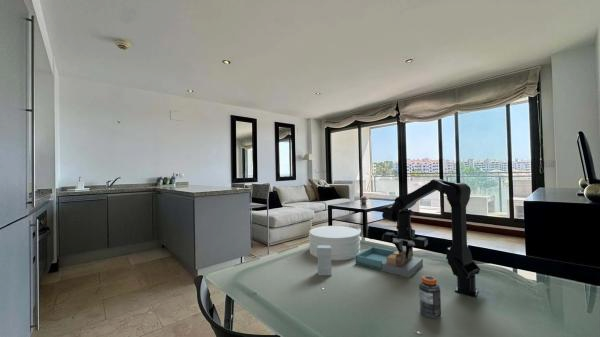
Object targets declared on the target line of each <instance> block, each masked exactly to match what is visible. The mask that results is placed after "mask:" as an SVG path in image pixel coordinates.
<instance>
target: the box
mask: <svg viewBox="0 0 600 337" xmlns="http://www.w3.org/2000/svg"><path fill="white" fill-rule="evenodd" d="M395 251H396V250H391V249H387V248H380V247H376V246H370V247H369V248H367V249H364V250H363V251H360V253H359V254H358V255H356V257H355V265H359V266H362V267H366V268H367V267H368V268H371V269H375V270H379V271H382V264H383V263H384V262H385V261H387V257H388V256H389V255H393V253H394V252H395Z"/></svg>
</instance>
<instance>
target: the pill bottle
mask: <svg viewBox="0 0 600 337" xmlns="http://www.w3.org/2000/svg"><path fill="white" fill-rule="evenodd" d="M421 279H422V280H421V282H419V285H418V286H419V287H418V288H419V289H418V293H419V295H418V296H419V312H420V313H421V314H422V315H423V316H424V317H427V318H429V319H439V318H440V317H442V302H441V287H440V285H438V284H437V278H436V277H435V276H432V275H422V278H421Z"/></svg>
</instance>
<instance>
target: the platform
mask: <svg viewBox="0 0 600 337" xmlns="http://www.w3.org/2000/svg"><path fill="white" fill-rule="evenodd" d="M423 265H424V260H423V258H421V257H415V256H413V257H411V258H410V259H409V260H408V261H406V262H405V263H404V264H402V265H401V266H398V265H395V264H391V263H387V261H385V262H384V263H383V264H382V270H381V271H383V272H386V273H389V274H393V273H394V274H393V275H398V276H401V277H406V278H411V277H412V276H413V275H414V274H416V272H417V271H419V270H420V268H422V267H423Z"/></svg>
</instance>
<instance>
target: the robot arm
mask: <svg viewBox="0 0 600 337" xmlns="http://www.w3.org/2000/svg"><path fill="white" fill-rule="evenodd" d="M436 191H438V192H439V193H441V194H444V195H446V196H445V197H446V199H447V201H448V204H449V206H450V208H451V209H450V211H451V212H450V213H451V216H450V217H451V242H452V243H451V246H449V247H447V248H446V249H445V254H446V258H445V260H447V263H448V266H450V269H451V271H452V275H454V276H456V283H457V284H456V287H455V289H454V292H456V293H460V294H464V295H468V296H472V297H477V295H478V293H479V292H478V291H479V288H476V286H477V282H476V275H479V274H480V271H481V268H480V267H479V266H478V264H476V262H475V261H474V260H473V256H472V251H471V250H470V248H469V246H468V235H467V234H468V233H467V231H468V230H467V205H468V204H469V201H470V200H471V199H470V198H471V194H472V193H471V192H472V190H471V187H470V186H469V185H468V184H467V183H464V182H458V183H456V182H453V181H448V180H443V179H440V178H435V179H431V180H430V181H429V182H427V183H425V184H424V185H422V186H420V187H419V188H417V189H414V190H413V191H412V192H409V193H408V194H407V193H406V194H403V195H400V196H396V197H395V199H394V203H393V204H392V206H385V207H384V210H383V212H382V214H381V216H382V219H383V220H384V221H388V222H392V223H396V222H397V224H396V227H395V228H396V230H397V235H396V233H395V232H390V231H386V232H385V233H383V235H382V236H381V237H382V240H383V241H385V242H387V241H388V242H389V241H390V240H392V244H393V245H394V246H395V248H396V250H397V251H399V253H401V252H402V251H403V250H404V249H403V248H404V247H403V243H404V242H407V244H405V249H406V258H407V259H408V257H409V254H410V252H411V249H412V248H413V247H415V246H416V247H422V248H425V247H427V246H428V245H429V240H428V238H427V237H422V236H417V237H415V236H416V230H415V229H413V227H412V223H411V222H412V220H411V219H412V218H411V216H415V215H416V213H415V212H414V211H413V210H412V209H411V208H412V207H413V206H414V205H416V203H417V202H418V201H419V200H421V199H423V198H425V197H427V196H429V195H432V193H434V192H436ZM406 209H407V210H406Z"/></svg>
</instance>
